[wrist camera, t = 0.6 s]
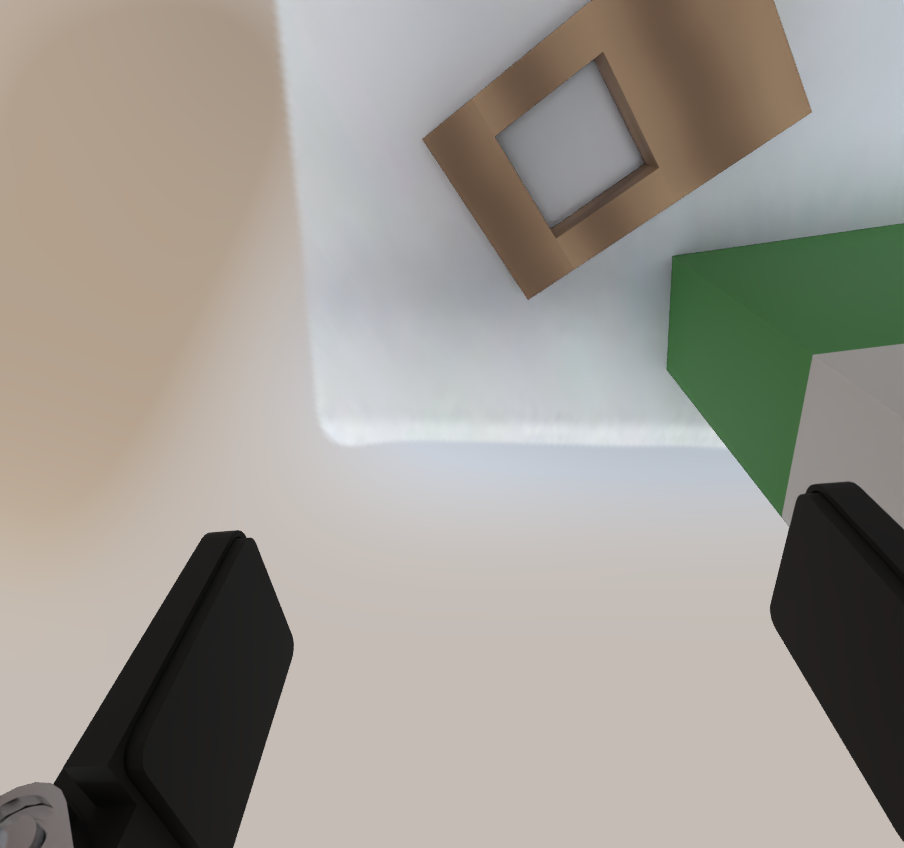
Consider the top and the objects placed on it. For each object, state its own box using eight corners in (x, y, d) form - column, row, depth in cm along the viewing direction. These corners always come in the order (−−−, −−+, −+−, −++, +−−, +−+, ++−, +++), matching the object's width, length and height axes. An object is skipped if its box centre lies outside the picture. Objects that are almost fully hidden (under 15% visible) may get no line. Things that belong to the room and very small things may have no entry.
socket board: (709, -97, 25) (733, -117, 22) (785, 111, 29) (812, 112, 26) (425, 137, 29) (422, 139, 27) (523, 287, 33) (527, 299, 31)
